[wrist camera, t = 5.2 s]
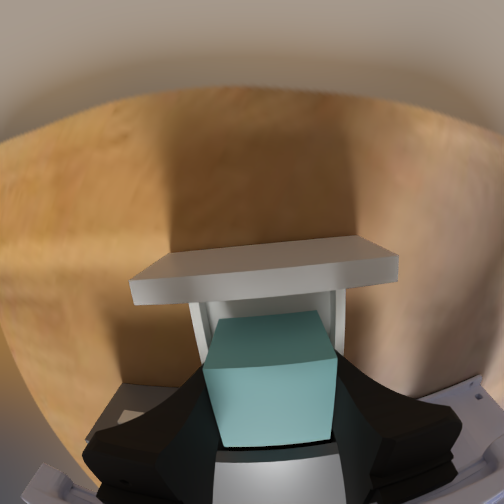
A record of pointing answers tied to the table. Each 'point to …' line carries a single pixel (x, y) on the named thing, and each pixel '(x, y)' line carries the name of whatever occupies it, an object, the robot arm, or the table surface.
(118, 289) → the table surface
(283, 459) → the player housing
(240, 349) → the teal block
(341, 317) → the tray
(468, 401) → the robot arm
